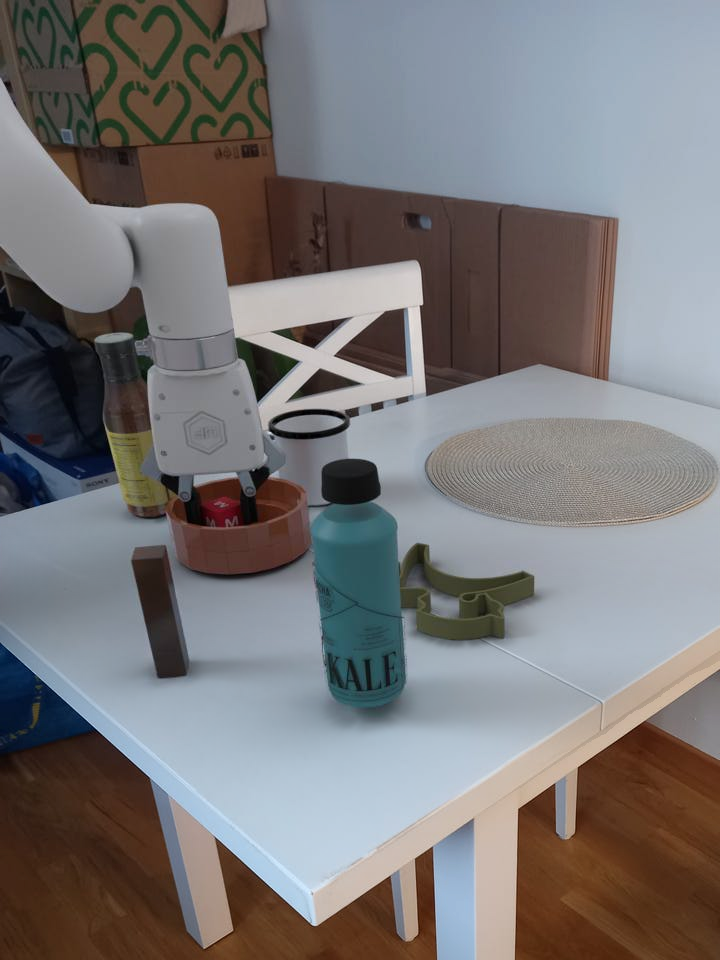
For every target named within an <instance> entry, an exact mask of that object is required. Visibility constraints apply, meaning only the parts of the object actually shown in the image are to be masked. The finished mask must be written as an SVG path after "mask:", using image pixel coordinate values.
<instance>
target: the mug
mask: <svg viewBox="0 0 720 960" xmlns="http://www.w3.org/2000/svg"><path fill="white" fill-rule="evenodd" d="M350 426H351V419H350V416H349V415H347V414H346V413H344V412H342V411H339V410H335V409H329V408H304V409H303V408H302V409H296V410H290V411H286V412H283V413H280V414H277V415H275V416H274V417H272V418H271V419H269V421H268V422H267V429H268V431H267V432H265V433H266V434H267V435H268V436H269V437H270V438H271V437H273V439H274V442H275V444H276V445H277V446H278V447H279V448H280V449H281V450H282V451H283V452H284V454H285V455H286V463H285V464H284V465H283V466H282V467H280V468H279V469H278V470H277V472H278V476H279V477H278V478H279V479H284V480H288V481H291V482H293V483H295V484H298V485H300V486H301V487H302V488H303V489H304V490H305V491H306V492H307V500H308V507H321V506H327V505H332V504H333V503H330V502H328V501H326V500H324V499H323V498H322V493H321V486H322V478H321V472H322V468H323V467H324V466H325V465H326V464H328V463H330V462H333V461H336V460H341V459H350V458H349V447H348V439H347V438H348V437H347V430H348V428H349V427H350ZM265 456H266V459H267V458H268V456H267V455H266V454H265Z"/></svg>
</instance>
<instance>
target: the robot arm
mask: <svg viewBox="0 0 720 960" xmlns="http://www.w3.org/2000/svg"><path fill="white" fill-rule="evenodd" d="M221 236H222V235H221V230H220V225H219V221H218V219H217V217H216V215H215V213H214V212H213V210H212V209H211V208H209V207H208V206H206V205H202V204H198V203H187V202H186V203H185V202H184V203H183V202H181V203H180V202H176V203H175V202H171V203H159V204H151V205H145V206H141V207H127V206H126V207H125V206H114V205H105V204H97V203H95V204H94V203H90V202H89V201H88V200H87V199H86V197H84V195H83V194H82V193H81V192H80V191H79V190H78V188H77V187H76V186H75V185H74V184H73V182H72V181H71V180H70V179H69V178H68V177H67V175H66V174H65V173H64V172H63V170H62V169H61V168H60V167H59V165H58V164H56V162H55V161H54V160H53V158H52V157H51V155H50V154H49V153H48V152H47V151H46V149H44V147H43V146H42V144H41V143H40V142H39V140H38V139H37V138H36V136H35V135H34V133H33V132H32V131H31V130H30V127H28V125H27V124H26V122H25V120H24V119H23V118H22V115H21V114H20V113H19V110H18V109H17V107H16V106H15V104H14V101H13V100H12V98H11V95H10V94H9V91H8V90H7V87H6V85H5V84H4V81H3V79H2V77H0V248H1V249H2V250H3V251H4V252H6V254H7V255H8V256H9V257H10V258H11V259H12V260H13V261H14V262H15V263H16V264H17V265H18V266H19V268H20V269H21V270H22V271H24V273H25V274H26V275H27V277H29V278H30V279H31V280H32V281H33V282H34V283H35V284H36V285H37V286H38V287H39V289H41V290H42V291H43V293H45V294H46V295H47V296H48V297H50V298H51V299H53V300H54V301H56V303H59V305H61V306H63V307H65V308H68V309H70V310H72V311H75V312H80V313H86V314H97V313H101V312H105V311H106V312H107V311H109V310H110V309H112V308H114V307H116V306H117V305H118V304H119V303H121V302H122V301H123V300H124V298H125V297H126V296H127V294H128V293H129V291H130V288H138V289H140V291H141V295H142V301H143V306H144V311H145V316H146V322H147V328H148V333H149V335H147V337H146V338H143V340H135V347H136V350H135V353H136V356H139V357H140V356H145V357H149V358H150V360H152V361H153V365H152V366H150V368H149V369H148V370H147V378H146V379H147V382H146V383H147V385H148V402H149V412H150V421H151V428H152V435H153V443H152V445H151V447H150V449H149V451H148V453H147V455H146V457H145V458H144V460H143V462H142V465H141V467H140V472H141V473H142V474H143V475H145V476H147V477H149V478H151V479H153V480H155V481H159V482H161V483H162V485H164V486H165V487H166V488H168V489H169V490H171V491H172V492H173V493H175V494H176V495H178V496H179V499H180V500H181V501H183V502H184V507H185V512H186V518H187V523H190V524H194V525H199V526H204V524H203V518H202V513H201V507H200V505H202V502H201V497H200V492H198V490H196V488H195V487H194V486H195V485H194V484H195V483H194V482H195V480H194V479H195V476H202V475H203V476H205V475H217V474H219V475H220V474H232V473H233V474H234V473H235V474H236V477H238V479H239V481H240V484H241V486H242V487H241V493H240V505H241V511H242V518H243V524H244V526H247V525H252V524H253V522H258V510H257V503H256V496H255V494H256V491H257V490H258V489H259V488H260V487H261V485H262V484H263V483H264V482H265V481H266V480H267V479H268V477H271V475H272V474H274V473H275V472H276V471H277V472H278V469H279V468H280V467H282V466H283V465H284V464H285V463H286V455H285V454H284V452H283V451H282V450H281V449H280V448H279V447H278V446H277V445H276V444H275V440H273V439H272V438H271V436H270V437H269V436H268V435H267V434H266V433H267V432H266V431H265V430H264V429H263V424H262V419H261V415H260V409H259V405H258V400H257V396H256V391H255V388H254V384H253V381H252V377H251V375H250V371H249V368H248V366H247V363H246V361H245V360H244V359H242V358H239V356H238V349H237V341H236V340H237V339H236V335H235V334H236V333H235V328H234V321H233V313H232V306H231V300H230V294H229V288H228V280H227V279H228V278H227V273H226V265H225V259H224V257H225V256H224V251H223V243H222V237H221ZM266 455H267V456H268V458H267V456H266ZM265 456H266V459H265V460H264V458H265Z"/></svg>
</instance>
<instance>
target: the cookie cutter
mask: <svg viewBox="0 0 720 960" xmlns="http://www.w3.org/2000/svg"><path fill="white" fill-rule="evenodd" d="M430 554H431V553H430V544H428V543H422V542H416V543H414V544H413V545H412V546H411V547H410V548H409V549H408V550H407V552H406V553H405V555H404V558H403V560H402V564H401V562H400V561H399V580H400V598H401V608H417V609H416V610H415V617H416V620H415V621H416V630H417V631H418V632H422V633H424V634H427V635H430V636H433V637H437V638H441V639H447V640H454V641H468V640H469V641H470V640H476V639H481V638H485V637H488V636H493V637H495V638H499V639H504V638H505V623H506V621H505V620H506V619H505V617H506V616H505V614H504V606H508V605H510V604H514V603H516V602H520V601H522V600H524V599H527V598H529V597H533V596H535V575H533V574H531V573H529V572H527V571H525V570H521V571H518V572H515V573H510V574H506V575H505V574H504V575H499V576H492V577H463V576H456V575H453V574H449V573H446V572H443V571H442V570H439V569H437V568H436V567H435V566H433V565H432V564H431V560H430V559H431V557H430ZM417 563H424V576H425V579H426V580H427V582H428V583H429V584H430V585H431V586H432V587H433V588H434V589H436V590H437V591H439V592H441V593H444V594H447V595H450V596H455V597H458V609H459V610H458V612H459V615H458V617H459V618H453V617H444V616H440V615H435V614H432V613H430V612H431V611H432V600H431V599H432V598H431V589H429V588H426V587H419V586H418V587H416V586H415V587H414V586H413V587H406V583H407V579H408V577H409V574H410V573H411V571H412V569H413V568H414V567H415V565H416V564H417ZM480 614H481V615H482V614H485V615H482V616H480Z"/></svg>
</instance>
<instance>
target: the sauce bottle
mask: <svg viewBox="0 0 720 960" xmlns="http://www.w3.org/2000/svg"><path fill="white" fill-rule="evenodd" d="M93 341H94V348H95V353H97V355H98V356H99V361H100V364H101V367H102V372H103V379H104V399H103V407H102V422H103V424H104V427H105V428H104V429H105V433H106V436H107V440H108V443H109V448H110V451H111V452H110V453H111V455H112V460H113V463H114V467H115V471H116V475H117V479H118V482H119V487H120V491H121V495H122V499H123V501H124V503H125V504H126V507H127V509H128V511H129V512H130V514H132V515H134V516H136V517H141V518H156V517H160V516H163V515H166V508H167V505H168V502H169V501H170V500H171V499H172V498H174V497H175V496H176V494H175V493H173V492H172V491H171V490H169V489H168V488H166V487H165V486H164V485H162V483H161V482H159V481H155V480H153V479H151V478H149V477H147V476H145V475H143V474H142V473H141V472H140V467H141V465H142V462H143V460H144V458H145V457H146V455H147V453H148V451H149V449H150V447H151V445H152V443H153V435H152V428H151V421H150V412H149V402H148V385H147V382H146V381H145V380H144V379H143V378H142V370H141V369H140V366H139V361H138V357H137V352H136V347H135V341H136V339H135V337H134V334H132V333H129V332H112V333H105V334H102V335H101V334H100V335H99V336H96V338H94V340H93Z"/></svg>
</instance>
